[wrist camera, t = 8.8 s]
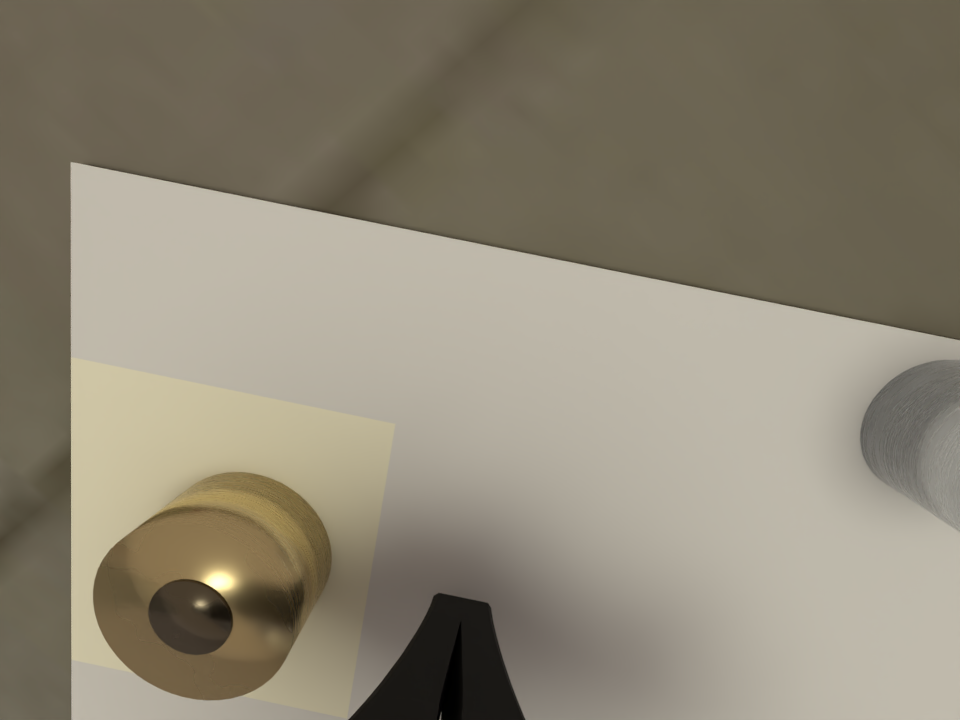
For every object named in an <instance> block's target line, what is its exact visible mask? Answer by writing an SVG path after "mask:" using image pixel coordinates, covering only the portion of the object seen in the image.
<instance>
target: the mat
mask: <svg viewBox="0 0 960 720" xmlns="http://www.w3.org/2000/svg"><path fill="white" fill-rule="evenodd" d="M936 360H960V340H956V339H951V338H946V337H941V336H937V335H932V334H927V333H922V332H917V331H912V330H907V329H902V328H897V327H892V326H887V325H882V324H877V323H872V322H867V321H862V320H857V319H852V318H847V317H842V316H837V315H832V314H827V313H822V312H817V311H812V310H807V309H802V308H797V307H792V306H787V305H782V304H777V303H772V302H767V301H762V300H757V299H752V298H747V297H742V296H737V295H732V294H727V293H722V292H717V291H712V290H707V289H703V288H698V287H693V286H688V285H683V284H678V283H673V282H668V281H663V280H658V279H653V278H648V277H643V276H638V275H633V274H628V273H623V272H618V271H613V270H608V269H603V268H598V267H593V266H588V265H583V264H578V263H573V262H568V261H563V260H558V259H553V258H548V257H543V256H538V255H533V254H528V253H523V252H518V251H513V250H508V249H503V248H498V247H493V246H488V245H483V244H478V243H473V242H469V241H464V240H459V239H454V238H449V237H444V236H439V235H434V234H429V233H424V232H419V231H414V230H409V229H404V228H399V227H394V226H389V225H384V224H379V223H374V222H369V221H364V220H359V219H354V218H349V217H344V216H339V215H334V214H329V213H324V212H319V211H314V210H309V209H304V208H299V207H294V206H289V205H284V204H279V203H274V202H269V201H264V200H259V199H254V198H249V197H244V196H239V195H235V194H230V193H225V192H220V191H215V190H210V189H205V188H200V187H195V186H190V185H185V184H180V183H175V182H170V181H165V180H160V179H155V178H150V177H145V176H140V175H135V174H130V173H125V172H120V171H115V170H110V169H105V168H100V167H95V166H90V165H85V164H79V163H74V162H71V649H72V720H348V719H349V718H350V717H351V716H352V715H353V714H354V713H355V712H356V711H357V710H358V709H359V707H360V706H361V705H362V704H363V703H364V702H365V701H366V700H367V698H368V697H369V696H370V695H371V694H372V692H373V691H374V690H375V689H376V688H377V686H378V685H379V684H380V683H381V681H382V680H383V679H384V677H385V676H386V675H387V673H388V672H389V671H390V669H391V668H392V667H393V665H394V664H395V663H396V661H397V660H398V659H399V657H400V656H401V655H402V653H403V652H404V650H405V649H406V647H407V645H408V644H409V642H410V641H411V639H412V638H413V636H414V635H415V633H416V631H417V630H418V628H419V626H420V624H421V623H422V621H423V619H424V617H425V615H426V613H427V611H428V609H429V607H430V604H431V602H432V599H433V596H434V595H436V594H437V593H443V594H448V595H453V596H457V597H462V598H467V599H472V600H477V601H482V602H487V603H488V604H489V605H490V607H491V610H492V617H493V622H494V627H495V631H496V636H497V639H498V643H499V647H500V650H501V654H502V657H503V660H504V663H505V666H506V669H507V672H508V675H509V678H510V681H511V684H512V687H513V690H514V692H515V695H516V698H517V700H518V703H519V705H520V707H521V710H522V712H523V715H524V717H525V720H960V532H958V531H957V530H955V529H954V528H952V527H951V526H949V525H948V524H946V523H945V522H943V521H941V520H940V519H938V518H937V517H935V516H934V515H932V514H931V513H929V512H928V511H926V510H925V509H923V508H922V507H920V506H919V505H917V504H916V503H914V502H913V501H911V500H909V499H908V498H906V497H905V496H903V495H902V494H900V493H899V492H897V491H896V490H894V489H893V488H891V487H890V486H888V485H887V484H885V483H884V482H882V481H881V480H880V479H878V478H877V477H876V476H875V475H874V474H873V473H872V471H871V470H870V469H869V467H868V466H867V464H866V462H865V460H864V458H863V454H862V451H861V445H860V431H861V425H862V421H863V418H864V415H865V413H866V411H867V409H868V406H869V405H870V403H871V402H872V400H873V399H874V397H875V396H876V395H877V394H878V392H879V391H880V390H881V389H882V388H883V387H884V386H885V385H886V384H887V383H888V382H890V381H891V380H892V379H893V378H895V377H896V376H898V375H899V374H901V373H903V372H904V371H906V370H908V369H910V368H912V367H914V366H917V365H920V364H923V363H927V362H931V361H936ZM226 472H247V473H253V474H258V475H262V476H265V477H269V478H271V479H274V480H276V481H278V482H280V483H282V484H284V485H286V486H287V487H289V488H291V489H292V490H294V491H295V492H296V493H298V494H299V495H300V496H301V497H302V498H303V499H305V500H306V501H307V502H308V503H309V504H310V506H311V507H312V508H313V509H314V510H315V512H316V513H317V515H318V516H319V518H320V519H321V521H322V523H323V525H324V527H325V529H326V531H327V534H328V537H329V540H330V546H331V552H332V563H331V571H330V575H329V578H328V581H327V583H326V585H325V588H324V590H323V591H322V593H321V595H320V597H319V599H318V601H317V603H316V604H315V606H314V608H313V610H312V612H311V614H310V615H309V617H308V619H307V621H306V623H305V625H304V627H303V628H302V630H301V632H300V634H299V636H298V638H297V639H296V641H295V643H294V645H293V647H292V649H291V650H290V652H289V654H288V656H287V658H286V660H285V662H284V663H283V665H282V666H281V668H280V669H279V671H278V672H277V673H276V674H275V675H274V676H273V677H272V678H271V679H270V680H269V681H268V682H266V683H265V684H264V685H263V686H261V687H259V688H258V689H256V690H254V691H252V692H250V693H248V694H245V695H243V696H239V697H235V698H232V699H225V700H196V699H190V698H185V697H181V696H178V695H175V694H171V693H169V692H166V691H164V690H161V689H159V688H157V687H155V686H153V685H152V684H150V683H148V682H146V681H145V680H143V679H142V678H140V677H139V676H137V675H136V674H135V673H134V672H132V671H131V670H130V669H129V668H128V667H127V666H125V664H124V663H123V662H122V661H121V660H120V659H119V658H118V657H117V656H116V655H115V653H114V652H113V651H112V649H111V648H110V647H109V645H108V643H107V642H106V640H105V638H104V637H103V635H102V632H101V630H100V628H99V626H98V623H97V619H96V616H95V612H94V605H93V587H94V580H95V577H96V573H97V570H98V568H99V566H100V564H101V562H102V560H103V558H104V557H105V556H106V554H107V553H108V552H109V550H110V549H111V548H112V547H113V546H114V545H115V544H116V543H117V542H119V541H120V540H121V539H123V538H124V537H125V536H126V535H128V534H129V533H130V532H132V531H133V530H134V529H136V528H137V527H138V526H140V525H141V524H142V523H144V522H145V521H146V520H147V519H149V518H150V517H151V516H153V515H154V514H155V513H157V512H158V511H159V510H161V509H162V508H163V507H165V506H166V505H167V504H168V503H170V502H171V501H172V500H174V499H175V498H176V497H178V496H179V495H180V494H182V493H183V492H184V491H186V490H187V489H188V488H190V487H191V486H192V485H194V484H195V483H197V482H199V481H201V480H203V479H205V478H207V477H210V476H213V475H216V474H221V473H226ZM439 720H441V715H440V719H439Z"/></svg>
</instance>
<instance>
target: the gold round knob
mask: <svg viewBox="0 0 960 720" xmlns="http://www.w3.org/2000/svg"><path fill="white" fill-rule="evenodd" d="M331 563H332V552H331V546H330V540H329V537H328V534H327V531H326V529H325V527H324V525H323V523H322V521H321V519H320V518H319V516H318V515H317V513H316V512H315V510H314V509H313V508H312V507H311V506H310V504H309V503H308V502H307V501H306V500H305V499H303V498H302V497H301V496H300V495H299V494H298V493H296V492H295V491H294V490H292V489H291V488H289V487H287V486H286V485H284V484H282V483H280V482H278V481H276V480H274V479H271V478H269V477H265V476H262V475H258V474H253V473H247V472H226V473H221V474H216V475H213V476H210V477H207V478H205V479H203V480H201V481H199V482H197V483H195V484H194V485H192V486H191V487H190V488H188V489H187V490H186V491H184V492H183V493H182V494H180V495H179V496H178V497H176V498H175V499H174V500H172V501H171V502H170V503H168V504H167V505H166V506H165V507H163V508H162V509H161V510H159V511H158V512H157V513H155V514H154V515H153V516H151V517H150V518H149V519H147V520H146V521H145V522H144V523H142V524H141V525H140V526H138V527H137V528H136V529H134V530H133V531H132V532H130V533H129V534H128V535H126V536H125V537H124V538H123V539H121V540H120V541H119V542H117V543H116V544H115V545H114V546H113V547H112V548H111V549H110V550H109V552H108V553H107V554H106V556H105V557H104V558H103V560H102V562H101V564H100V566H99V568H98V570H97V573H96V577H95V580H94V587H93V605H94V612H95V616H96V619H97V623H98V626H99V628H100V630H101V632H102V635H103V637H104V638H105V640H106V642H107V643H108V645H109V647H110V648H111V649H112V651H113V652H114V653H115V655H116V656H117V657H118V658H119V659H120V660H121V661H122V662H123V663H124V664H125V666H127V667H128V668H129V669H130V670H131V671H132V672H134V673H135V674H136V675H137V676H139V677H140V678H142V679H143V680H145V681H146V682H148V683H150V684H152V685H153V686H155V687H157V688H159V689H161V690H164V691H166V692H169V693H171V694H175V695H178V696H181V697H185V698H190V699H196V700H225V699H232V698H235V697H239V696H243V695H245V694H248V693H250V692H252V691H254V690H256V689H258V688H259V687H261V686H263V685H264V684H265V683H266V682H268V681H269V680H270V679H271V678H272V677H273V676H274V675H275V674H276V673H277V672H278V671H279V669H280V668H281V666H282V665H283V663H284V662H285V660H286V658H287V656H288V654H289V652H290V650H291V649H292V647H293V645H294V643H295V641H296V639H297V638H298V636H299V634H300V632H301V630H302V628H303V627H304V625H305V623H306V621H307V619H308V617H309V615H310V614H311V612H312V610H313V608H314V606H315V604H316V603H317V601H318V599H319V597H320V595H321V593H322V591H323V590H324V588H325V585H326V583H327V581H328V578H329V575H330V571H331Z"/></svg>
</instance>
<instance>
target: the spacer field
mask: <svg viewBox="0 0 960 720" xmlns="http://www.w3.org/2000/svg"><path fill="white" fill-rule="evenodd" d="M860 445H861V451H862V454H863V458H864V460H865V462H866V464H867V466H868V467H869V469H870V470H871V471H872V473H873V474H874V475H875V476H876V477H877V478H878V479H880V480H881V481H882V482H884V483H885V484H887V485H888V486H890V487H891V488H893V489H894V490H896V491H897V492H899V493H900V494H902V495H903V496H905V497H906V498H908V499H909V500H911V501H913V502H914V503H916V504H917V505H919V506H920V507H922V508H923V509H925V510H926V511H928V512H929V513H931V514H932V515H934V516H935V517H937V518H938V519H940V520H941V521H943V522H945V523H946V524H948V525H949V526H951V527H952V528H954V529H955V530H957V531H958V532H960V360H936V361H931V362H927V363H923V364H920V365H917V366H914V367H912V368H910V369H908V370H906V371H904V372H903V373H901V374H899V375H898V376H896V377H895V378H893V379H892V380H891V381H890V382H888V383H887V384H886V385H885V386H884V387H883V388H882V389H881V390H880V391H879V392H878V394H877V395H876V396H875V397H874V399H873V400H872V402H871V403H870V405H869V406H868V409H867V411H866V413H865V415H864V418H863V421H862V425H861V431H860Z"/></svg>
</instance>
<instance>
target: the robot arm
mask: <svg viewBox="0 0 960 720" xmlns="http://www.w3.org/2000/svg"><path fill="white" fill-rule="evenodd" d="M440 715H441V720H525V717H524V715H523V712H522V710H521V707H520V705H519V703H518V700H517V698H516V695H515V692H514V690H513V687H512V684H511V681H510V678H509V675H508V672H507V669H506V666H505V663H504V660H503V657H502V654H501V650H500V647H499V643H498V639H497V636H496V631H495V627H494V622H493V617H492V610H491V607H490V605H489V604H488V603H487V602H482V601H477V600H472V599H467V598H462V597H457V596H453V595H448V594H443V593H437V594H436V595H434V596H433V599H432V602H431V604H430V607H429V609H428V611H427V613H426V615H425V617H424V619H423V621H422V623H421V624H420V626H419V628H418V630H417V631H416V633H415V635H414V636H413V638H412V639H411V641H410V642H409V644H408V645H407V647H406V649H405V650H404V652H403V653H402V655H401V656H400V657H399V659H398V660H397V661H396V663H395V664H394V665H393V667H392V668H391V669H390V671H389V672H388V673H387V675H386V676H385V677H384V679H383V680H382V681H381V683H380V684H379V685H378V686H377V688H376V689H375V690H374V691H373V692H372V694H371V695H370V696H369V697H368V698H367V700H366V701H365V702H364V703H363V704H362V705H361V706H360V707H359V709H358V710H357V711H356V712H355V713H354V714H353V715H352V716H351V717H350V718H349V719H348V720H439V719H440Z"/></svg>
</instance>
